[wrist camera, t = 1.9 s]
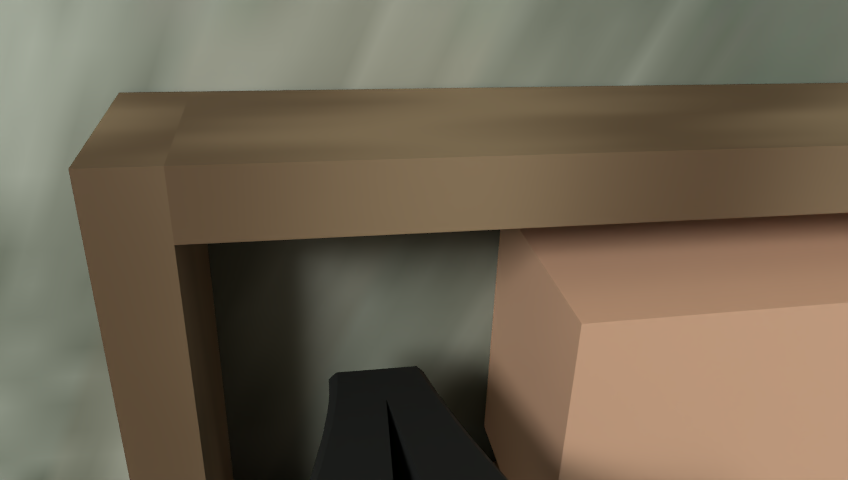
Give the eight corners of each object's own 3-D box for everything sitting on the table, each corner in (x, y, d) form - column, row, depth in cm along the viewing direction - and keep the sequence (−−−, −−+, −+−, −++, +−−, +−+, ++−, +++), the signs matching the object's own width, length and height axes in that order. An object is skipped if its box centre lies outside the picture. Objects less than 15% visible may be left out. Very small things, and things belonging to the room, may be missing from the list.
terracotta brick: (897, 178, 14) (1100, 282, 11) (826, 384, 17) (974, 525, 13) (499, 197, 13) (581, 323, 9) (481, 419, 15) (542, 586, 12)
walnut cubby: (993, 80, 13) (1170, 136, 11) (845, 456, 17) (946, 562, 15) (118, 92, 11) (67, 168, 8) (187, 530, 15) (168, 675, 12)
